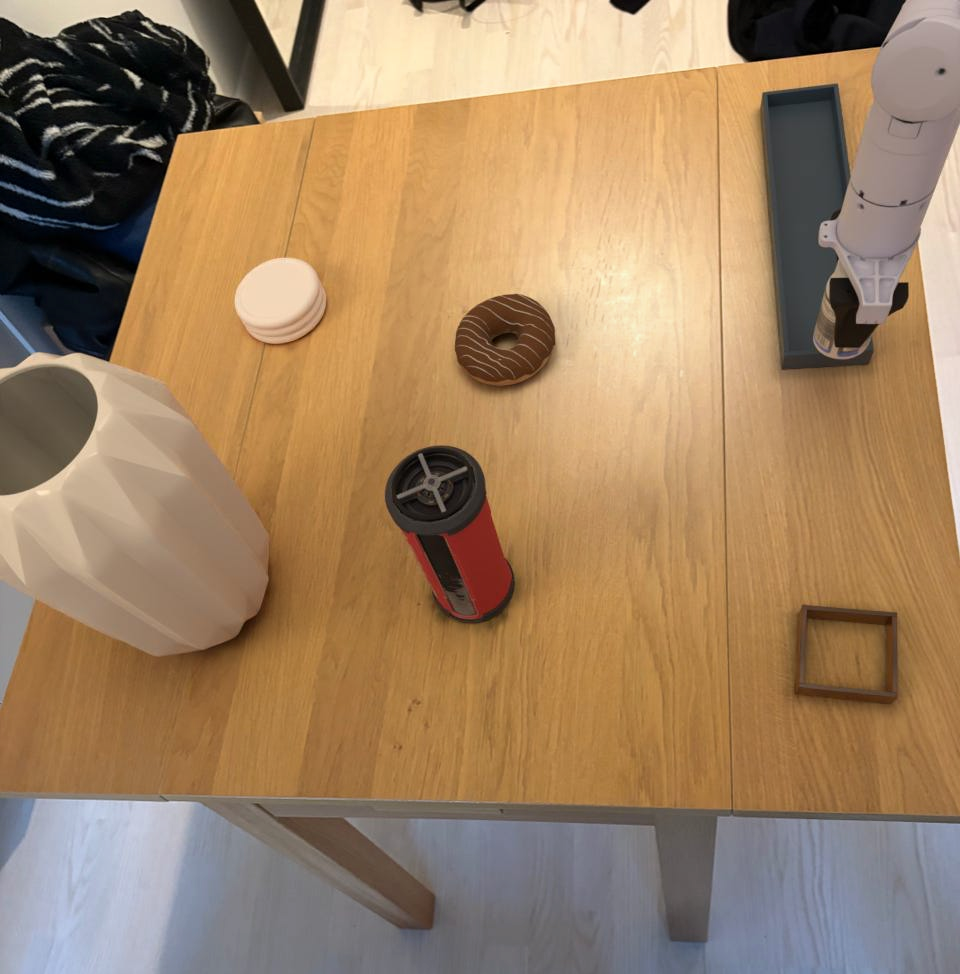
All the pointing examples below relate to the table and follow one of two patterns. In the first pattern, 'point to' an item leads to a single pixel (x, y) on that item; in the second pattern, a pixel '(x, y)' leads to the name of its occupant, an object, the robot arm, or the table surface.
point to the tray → (803, 211)
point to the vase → (122, 508)
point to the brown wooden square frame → (851, 616)
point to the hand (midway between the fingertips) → (847, 319)
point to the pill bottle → (832, 326)
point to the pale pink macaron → (280, 300)
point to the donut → (497, 319)
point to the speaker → (451, 531)
